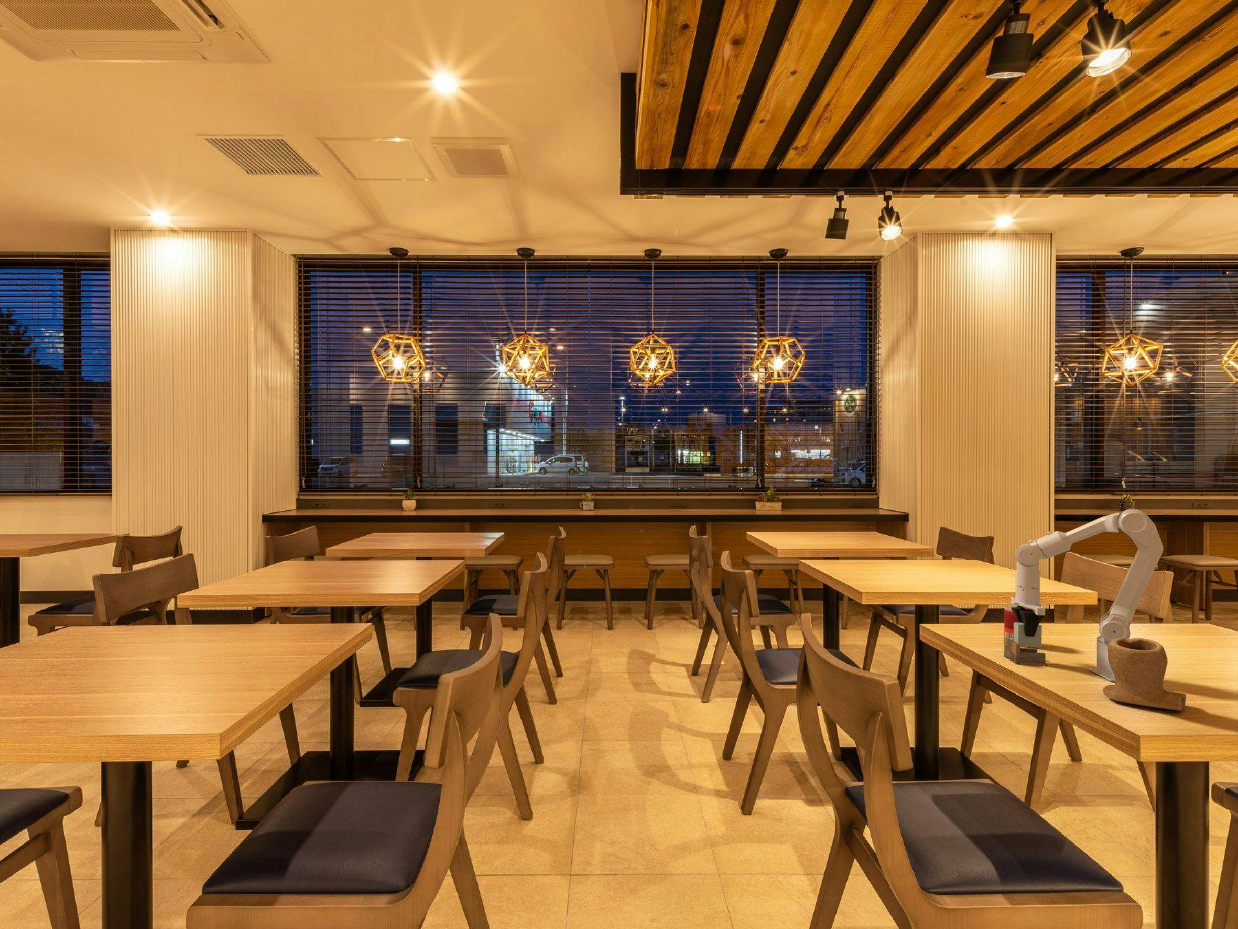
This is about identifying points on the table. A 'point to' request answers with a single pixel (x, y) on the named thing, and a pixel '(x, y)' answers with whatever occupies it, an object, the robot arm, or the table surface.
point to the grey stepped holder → (1022, 653)
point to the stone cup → (1140, 674)
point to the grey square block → (1024, 640)
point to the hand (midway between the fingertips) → (1027, 635)
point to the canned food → (1009, 622)
